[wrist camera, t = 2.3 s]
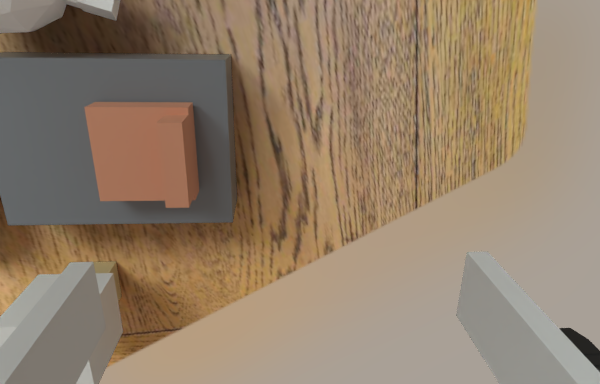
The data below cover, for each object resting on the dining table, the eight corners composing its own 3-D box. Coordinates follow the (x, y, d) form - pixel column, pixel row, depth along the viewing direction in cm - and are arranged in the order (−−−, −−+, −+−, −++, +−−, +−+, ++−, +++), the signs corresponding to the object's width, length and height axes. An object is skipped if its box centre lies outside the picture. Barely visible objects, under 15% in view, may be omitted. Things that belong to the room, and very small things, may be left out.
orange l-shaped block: (109, 191, 34) (87, 215, 30) (95, 101, 32) (68, 114, 27) (199, 190, 35) (189, 214, 30) (192, 102, 32) (181, 114, 28)
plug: (71, 306, 44) (11, 393, 34) (58, 251, 42) (-10, 327, 32) (135, 305, 45) (95, 390, 34) (127, 250, 42) (81, 324, 32)
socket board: (38, 201, 40) (8, 225, 35) (4, 52, 35) (-36, 57, 30) (237, 199, 41) (232, 222, 36) (231, 54, 36) (225, 59, 31)
